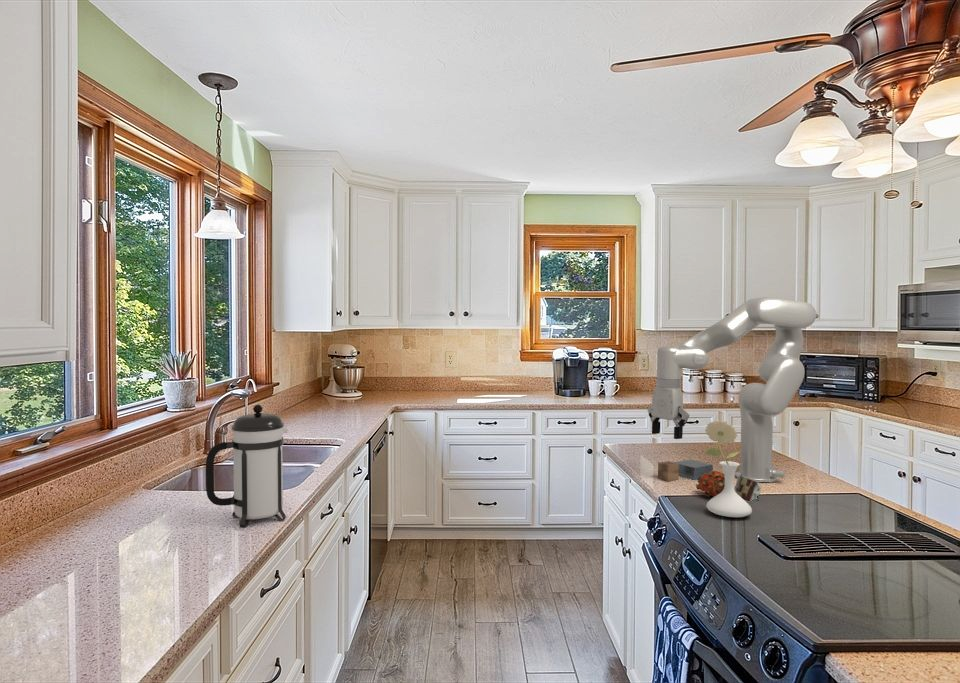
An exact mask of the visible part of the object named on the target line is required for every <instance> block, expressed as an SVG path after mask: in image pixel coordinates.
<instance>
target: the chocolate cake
mask: <svg viewBox="0 0 960 683" xmlns="http://www.w3.org/2000/svg"><path fill="white" fill-rule="evenodd" d="M739 471H740V474H739V477H738V478H737V481H736V483H735V484H734V490H735V492H736V493H737V494H738V495H739V496H740V497H741V498H742V499H743V500H747V501H752V500H753V499H758V498H757V496H758V497H759V496H760V493H761V489H762V487H761V486H760V482H755V481H753V480H750V479H747V478H745V477H742V475H741V470H739ZM752 502H753V501H752Z"/></svg>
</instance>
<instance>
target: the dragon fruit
mask: <svg viewBox="0 0 960 683" xmlns="http://www.w3.org/2000/svg"><path fill="white" fill-rule="evenodd" d="M724 486H725V476H724V472H722V471H719V470H714V469H713V470H711V472H710V473H709V474H703V475H702V476H701V477H699V479H698V480H697V483H696V484H695V488H696V490H699V491H701V492H704V495H705V497H707V496H708V497H707V498H711V497H710V496H713V497H715V496H716V495H718V494H720V493H721V492H722V491H723V490H724ZM713 497H712V498H713Z"/></svg>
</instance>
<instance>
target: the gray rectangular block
mask: <svg viewBox="0 0 960 683" xmlns="http://www.w3.org/2000/svg"><path fill="white" fill-rule="evenodd" d="M673 462H674V463H677V464H679V476H680V477H679V478H683V477H684V479H686V478H687V480H690V479H691V480H690V481H693V480H695V481H698V479H699V477H701V476H702V475H703V474H709V473H710V472H711V470H713V471H714V465H713V464H711V463H707V462H703V461H700V460H695V459H684V460H680V461H673Z"/></svg>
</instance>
